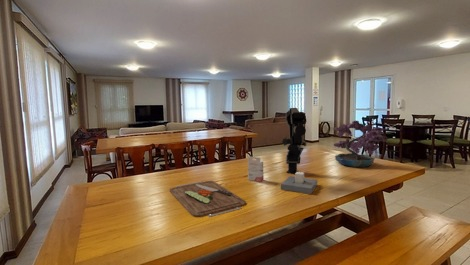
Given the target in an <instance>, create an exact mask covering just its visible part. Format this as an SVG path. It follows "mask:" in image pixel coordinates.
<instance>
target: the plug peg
mask: <svg viewBox="0 0 470 265" xmlns="http://www.w3.org/2000/svg"><path fill="white" fill-rule="evenodd" d="M294 177H295V183H299V184H304V178H305V172H302V171H301V172H300V171H298V172H296V173H295V174H294Z"/></svg>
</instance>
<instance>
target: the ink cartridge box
mask: <svg viewBox="0 0 470 265" xmlns="http://www.w3.org/2000/svg"><path fill="white" fill-rule="evenodd" d="M264 178H265V177H264V160H261V157H259V156H247V180H248V181H250V182H251V181H253V182H259V183H260V182H262V181H264Z"/></svg>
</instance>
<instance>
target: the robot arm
mask: <svg viewBox="0 0 470 265" xmlns="http://www.w3.org/2000/svg"><path fill="white" fill-rule="evenodd" d="M285 121H286V125H287V126H288V132H289V133H288V136H289V138H287V137H285V138H282V142H281V143H282V144H283V146H287V153H286V156H285V163H286V165H287V171H286V173H288V174H294V175H295V173H296V172H299V170H298V165H300V164H301V155H302V153H303V150H304V149H305V148H304V147H306V146H307V142H306V140H304V139H303V138H304V135H305V134H306V132H307V131H306V127H305V126H304V125H306V124H307V117H306V114H305V113H304V111H299V109H298V107H290V108H289V110H288V111H287V112H286V113H285ZM302 146H303V147H302Z"/></svg>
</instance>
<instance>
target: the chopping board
mask: <svg viewBox="0 0 470 265" xmlns="http://www.w3.org/2000/svg"><path fill="white" fill-rule="evenodd" d="M168 191H169V193H170V194H171V195H172V196H173V197H174V199H176V200H177V201H178V203H180V205H182V207H183V208H184V209H185V210H186V211H187V212H188V213H189V214H190V215H191V216H192V217H195V218H199V217H200V218H201V217H205V216H207V217H208V218H211V217H214V216H218V215H219V216H220V215H221V214H225V213H226V214H227V213H231V212H234V211H237V210H238V211H239V210H241V209H242V207H243V206H246V203H247V202H246V200H245V199H243V197H241V196H238V195H237V194H235V193H233V192H232V191H231V190H229V189H227V188H225V187H224V186H222V185H221V184H219V183H217V182H216V181H214V180H207V181H203V180H201V181H196V182H190V183H185V184H179V185H176V186H173V187H170V188H169V190H168Z"/></svg>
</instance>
